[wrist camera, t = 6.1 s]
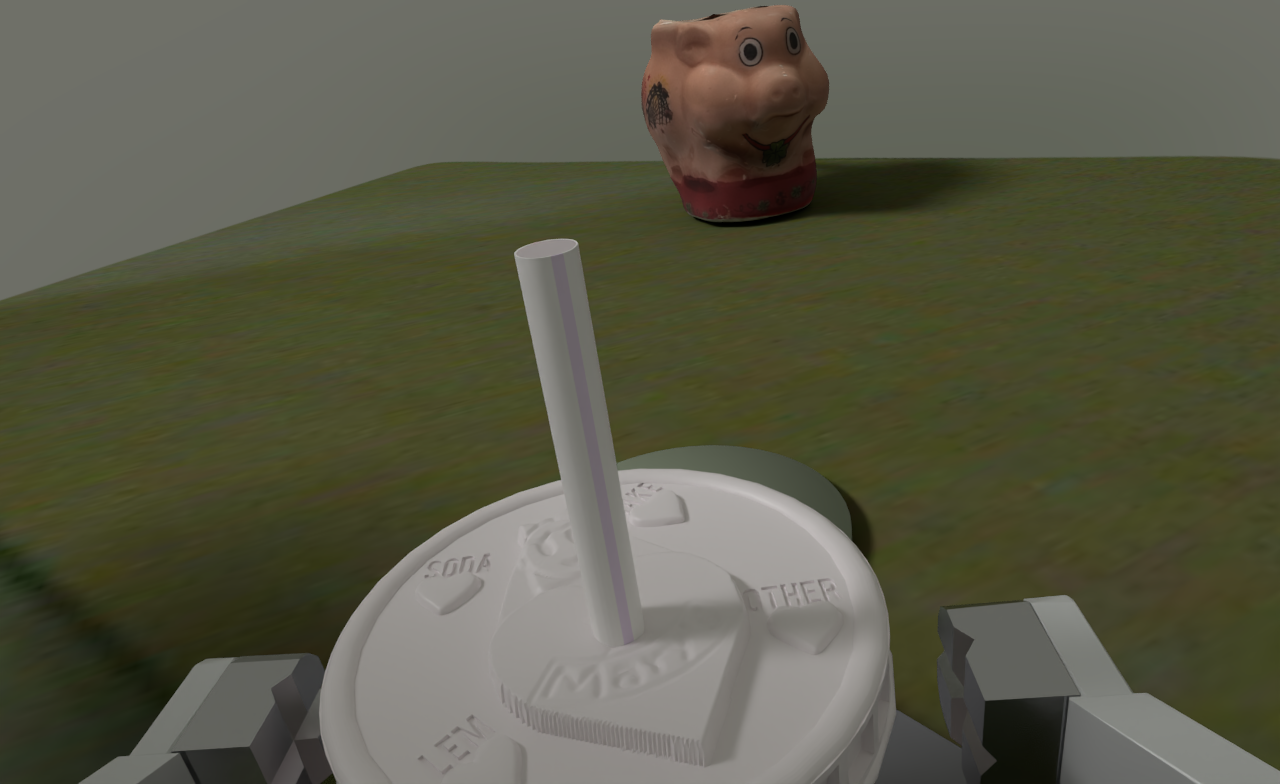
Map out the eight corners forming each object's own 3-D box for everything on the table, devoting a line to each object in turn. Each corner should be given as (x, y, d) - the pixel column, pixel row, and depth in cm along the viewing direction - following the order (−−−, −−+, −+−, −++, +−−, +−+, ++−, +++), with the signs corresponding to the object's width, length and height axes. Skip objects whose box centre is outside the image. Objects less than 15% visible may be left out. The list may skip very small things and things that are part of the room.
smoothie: (586, 1509, 10) (92, 522, 4) (456, 996, 15) (163, 251, 9) (998, 1178, 12) (1083, 212, 6) (756, 830, 17) (675, 138, 11)
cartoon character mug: (613, 204, 71) (586, 26, 65) (738, 174, 75) (723, 3, 69) (732, 251, 54) (710, 17, 48) (885, 209, 58) (882, -12, 52)
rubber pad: (475, 555, 28) (471, 540, 27) (694, 433, 33) (692, 419, 33) (682, 715, 20) (680, 697, 20) (919, 525, 26) (919, 508, 26)
